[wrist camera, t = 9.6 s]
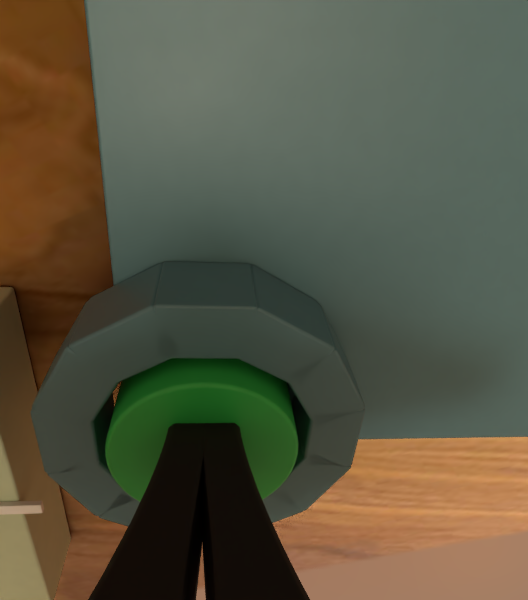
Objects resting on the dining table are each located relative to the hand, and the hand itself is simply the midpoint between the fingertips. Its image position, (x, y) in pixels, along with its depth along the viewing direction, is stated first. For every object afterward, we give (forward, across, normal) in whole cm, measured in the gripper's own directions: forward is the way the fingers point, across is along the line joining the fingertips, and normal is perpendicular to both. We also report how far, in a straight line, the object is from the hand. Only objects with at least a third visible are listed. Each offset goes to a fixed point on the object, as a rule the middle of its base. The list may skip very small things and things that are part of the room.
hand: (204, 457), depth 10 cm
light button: (+2, 0, 0) cm, 2 cm away
